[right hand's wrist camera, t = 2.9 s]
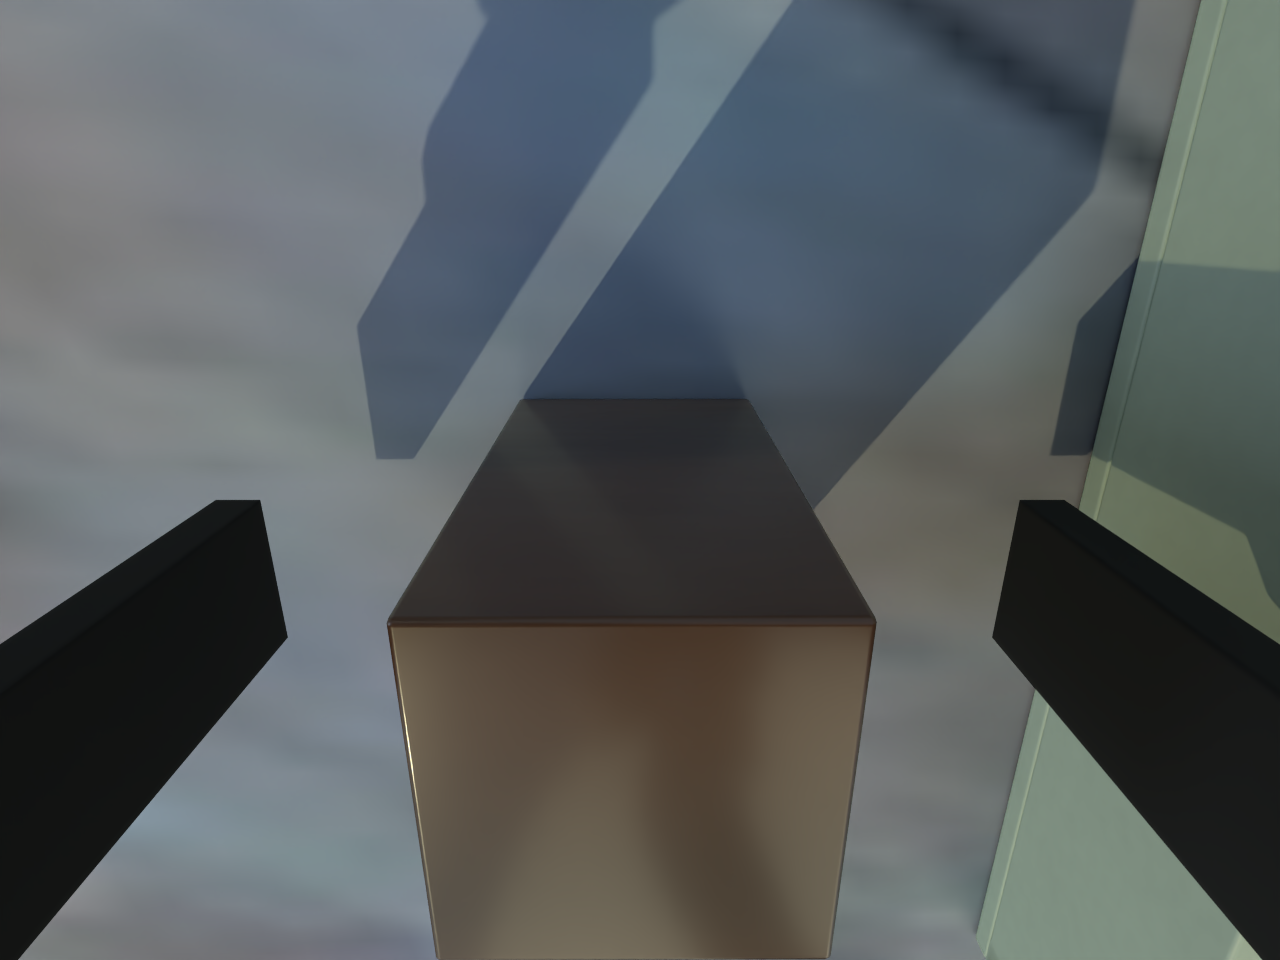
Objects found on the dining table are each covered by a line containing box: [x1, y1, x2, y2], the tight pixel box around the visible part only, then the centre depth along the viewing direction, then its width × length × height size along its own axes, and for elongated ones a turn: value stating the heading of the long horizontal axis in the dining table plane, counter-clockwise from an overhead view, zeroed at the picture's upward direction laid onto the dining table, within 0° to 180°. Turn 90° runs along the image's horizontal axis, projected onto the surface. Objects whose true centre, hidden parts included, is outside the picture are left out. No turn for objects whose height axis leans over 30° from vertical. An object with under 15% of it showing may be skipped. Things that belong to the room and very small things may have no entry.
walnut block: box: [387, 399, 877, 960], centre depth 11 cm, size 4×4×8 cm
